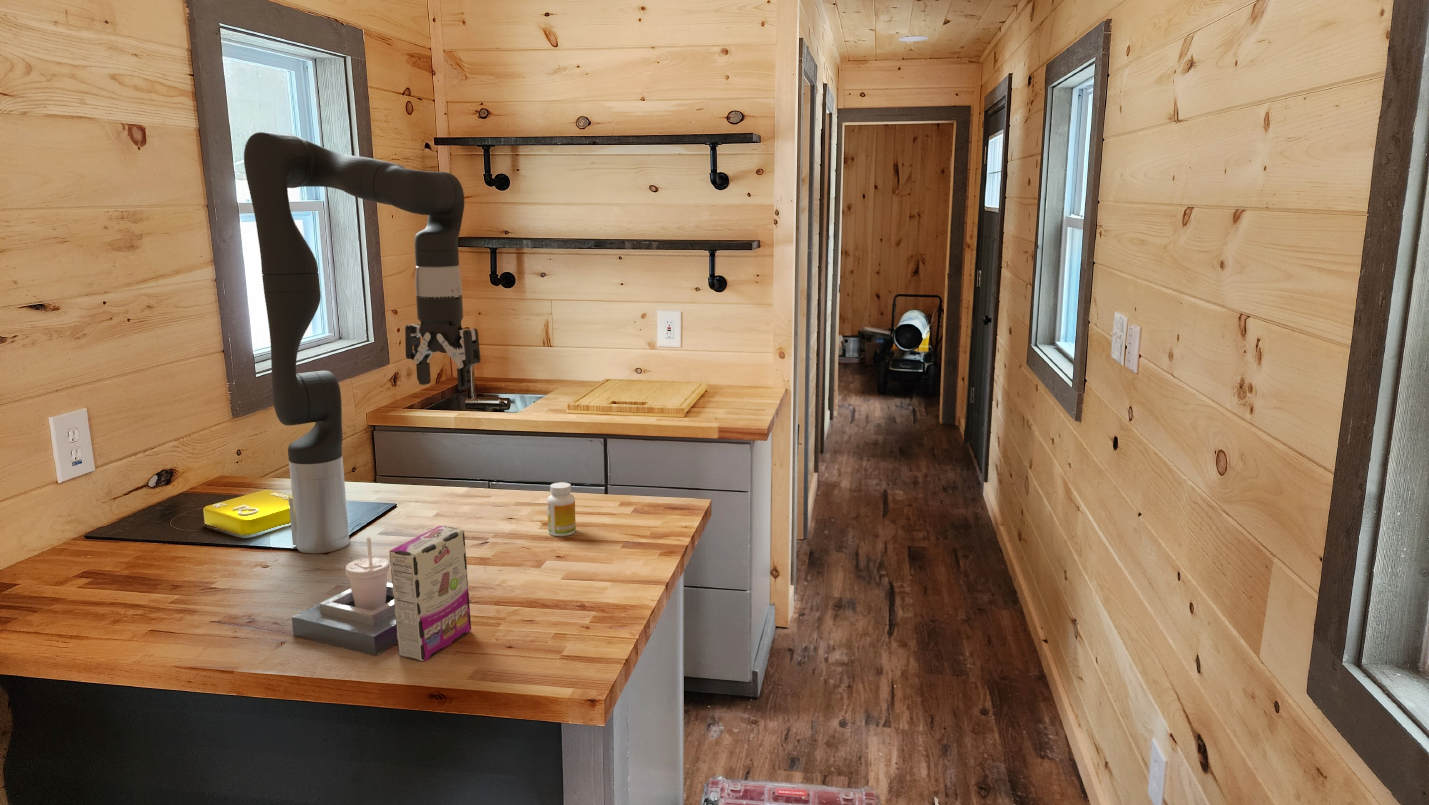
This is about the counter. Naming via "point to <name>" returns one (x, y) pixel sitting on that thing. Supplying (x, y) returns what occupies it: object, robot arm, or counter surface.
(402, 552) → the candy bar box
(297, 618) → the grey square holder
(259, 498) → the element tile
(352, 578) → the smoothie
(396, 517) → the counter surface
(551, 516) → the supplement bottle
